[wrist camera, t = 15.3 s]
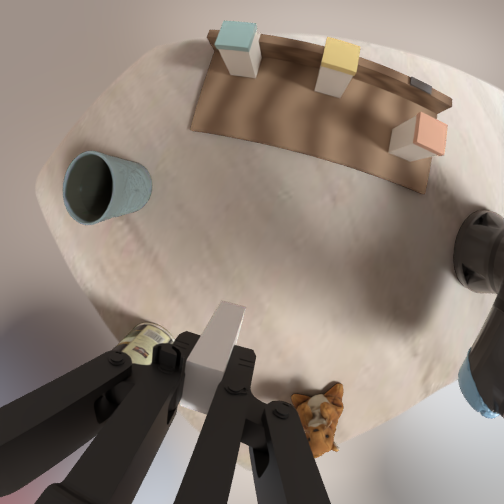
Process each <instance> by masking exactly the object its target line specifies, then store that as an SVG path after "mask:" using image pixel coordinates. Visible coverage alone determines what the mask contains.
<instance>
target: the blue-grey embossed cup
mask: <svg viewBox="0 0 504 504" xmlns="http://www.w3.org/2000/svg"><path fill="white" fill-rule="evenodd" d="M151 191H152V180H151V177H150V174H149V172H148V171H147V170H146V168H145V167H144V166H142V165H141V164H139V163H135V162H132V161H128V160H124V159H121V158H117V157H113V156H109V155H106V154H103V153H100V152H96V151H86V152H84V153H81V154H80V155H78V156H77V157H76V158H75V159H74V160H73V161H72V162H71V164H70V166H69V167H68V169H67V172H66V174H65V177H64V182H63V199H64V204H65V206H66V209H67V211H68V213H69V214H70V216H71V217H72V218H73V219H74V220H76V221H77V222H79V223H80V224H84V225H93V224H96V223H99V222H102V221H104V220H107V219H110V218H112V217H119V216H122V215H125V214H129V213H132V212H136V211H138V210H140V209H141V208H142V207H143V206H144V205H145V204H146V203H147V201H148V200H149V198H150V195H151Z"/></svg>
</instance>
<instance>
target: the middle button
mask: <svg viewBox="0 0 504 504" xmlns="http://www.w3.org/2000/svg"><path fill="white" fill-rule="evenodd" d="M359 53H360V46H357V45H354V44H351V43H347V42H344V41H341V40H337V39H334V38H330V37H327V39H326V44H325V48H324V53H323V57H322V61H321V65H320V69H319V73H318V77H317V82H316V86H315V91H316V92H320V93H324V94H327V95H331V96H334V97H337V98H341V96H342V94H343V93H344V91H345V89H346V87H347V86H348V84H349V82H350V81H351V79H352V77H353V76H355V74H356V72H357V66H358V60H359Z"/></svg>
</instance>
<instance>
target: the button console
mask: <svg viewBox="0 0 504 504" xmlns="http://www.w3.org/2000/svg"><path fill="white" fill-rule="evenodd" d="M219 31H220V30H209V33H208V35H207V38H208V40H209V42H210V44H211V46H212V47H213V49H214V54H213V57H212V60H211V63H210V66H209V69H208V72H207V75H206V78H205V81H204V84H203V87H202V90H201V93H200V97H199V100H198V103H197V107H196V110H195V113H194V117H193V120H192V124H191V128H190V130H192V131H197V132H204V133H210V134H216V135H221V136H227V137H232V138H238V139H243V140H248V141H252V142H257V143H262V144H266V145H271V146H275V147H279V148H283V149H287V150H291V151H295V152H299V153H303V154H306V155H310V156H314V157H317V158H321V159H324V160H328V161H331V162H334V163H338V164H341V165H344V166H347V167H350V168H353V169H356V170H359V171H362V172H365V173H368V174H371V175H374V176H377V177H380V178H382V179H385V180H388V181H390V182H393V183H396V184H398V185H401V186H404V187H406V188H409V189H411V190H414V191H416V192H418V193H421V194H425V192H426V187H427V182H428V177H429V171H430V166H431V160H432V157H428V158H424V159H419V160H415V161H411V162H410V161H408V160H405V159H403V158H400V157H398V156H395V155H393V154H390V153H388V151H389V146H390V140H391V135H392V129H394V128H395V127H397V126H399V125H401V124H402V123H404V122H406V121H408V120H409V119H411V118H413V117H414V116H416V115H417V113H419V112H423V113H425V114H427V115H429V116H431V117H433V118H435V119H437V114H438V113H440V112H442V111H444V110H446V109H448V108H451V107H452V99H451V98H450V97H448V96H446V95H444V94H443V93H441V92H439V91H437V90H435V89H433V88H432V86H430V85H428V84H426V83H424V82H422V81H420V80H418V79H415V78H413V77H409V76H407V75H404V74H402V73H400V72H397V71H395V70H393V69H390V68H388V67H385V66H383V65H380V64H378V63H375V62H372V61H369V60H367V59H364V58H361V57H359V60H358V66H357V72H356V74H355V76H353V77H352V79H351V81H350V82H349V84H348V86H347V87H346V89H345V91H344V93H343V94H342V96H341V98H337V97H334V96H331V95H327V94H324V93H320V92H316V91H315V86H316V82H317V77H318V73H319V69H320V65H321V61H322V57H323V53H324V48H325V47H324V46H320V45H316V44H312V43H308V42H303V41H298V40H294V39H288V38H283V37H277V36H271V35H264V34H261V33H257V36H258V41H259V46H260V51H261V56H262V59H261V63H260V66H259V69H258V73H257V76H256V78H249V77H243V76H235V75H230V73H229V70H228V68H227V66H226V64H225V62H224V60H223V58H222V56H221V54H220V52H219V50H218V49H216V47H215V42H216V39H217V37H218V34H219Z"/></svg>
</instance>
